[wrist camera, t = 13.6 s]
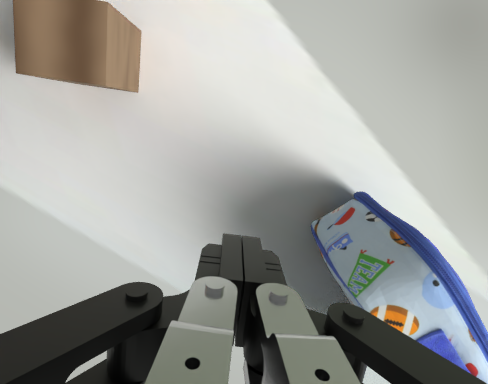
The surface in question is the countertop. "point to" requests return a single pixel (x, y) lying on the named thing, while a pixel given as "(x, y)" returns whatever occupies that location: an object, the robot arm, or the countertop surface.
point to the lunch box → (402, 281)
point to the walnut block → (77, 43)
